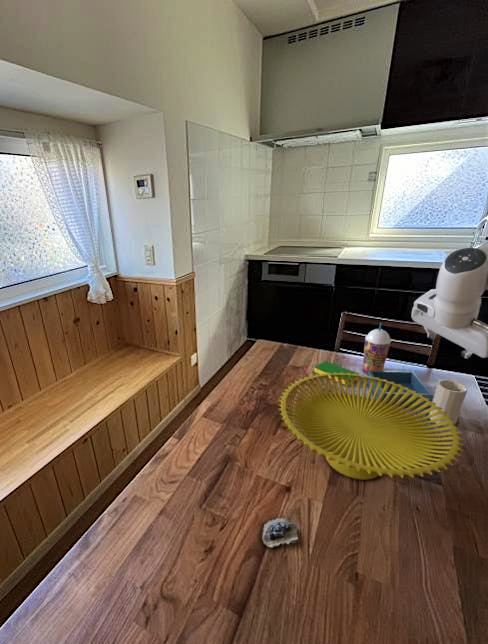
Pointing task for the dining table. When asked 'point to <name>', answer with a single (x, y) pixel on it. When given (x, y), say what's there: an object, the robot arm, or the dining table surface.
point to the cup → (449, 399)
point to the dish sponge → (332, 368)
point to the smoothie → (376, 349)
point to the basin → (405, 380)
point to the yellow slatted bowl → (368, 428)
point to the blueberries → (279, 532)
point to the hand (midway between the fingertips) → (448, 346)
